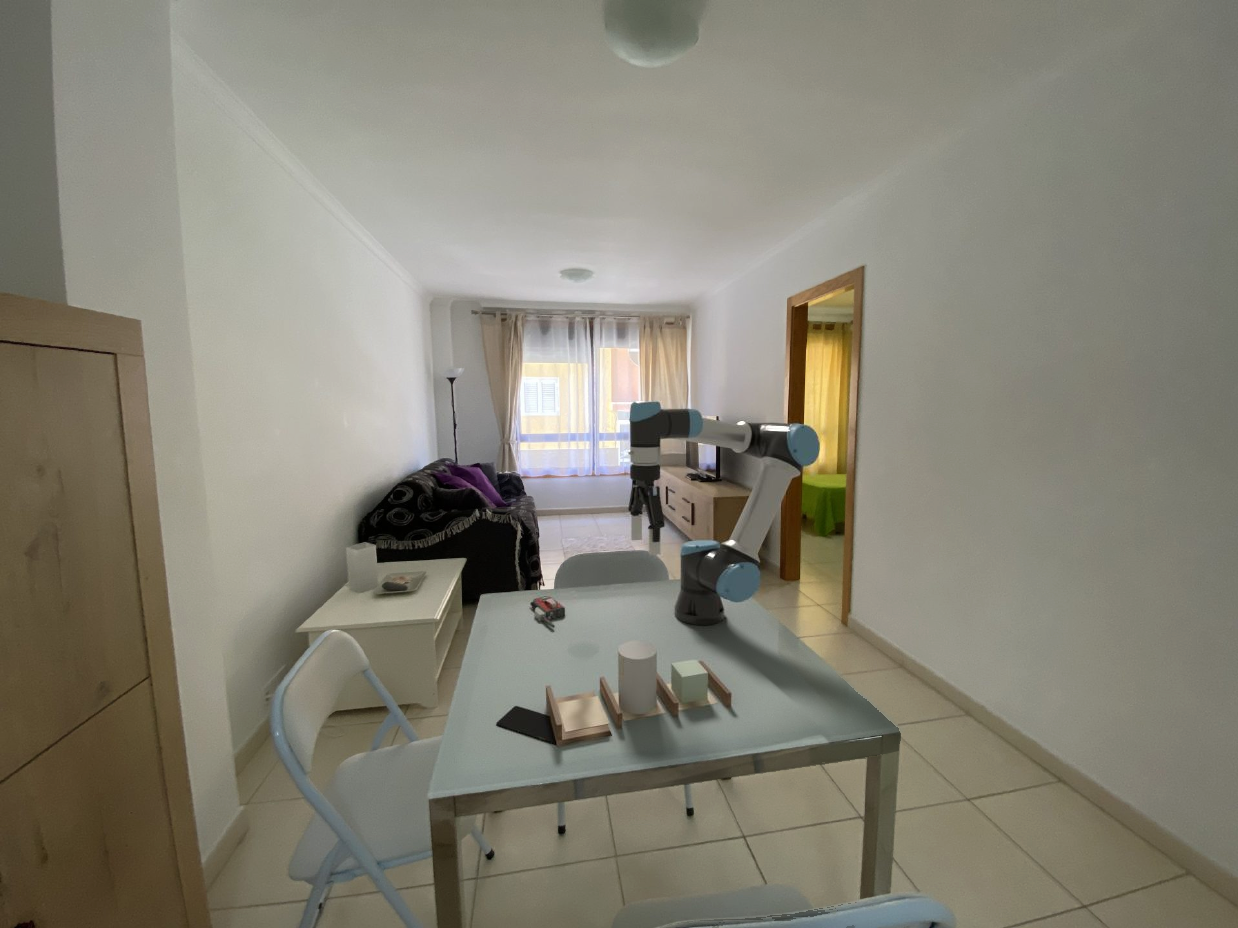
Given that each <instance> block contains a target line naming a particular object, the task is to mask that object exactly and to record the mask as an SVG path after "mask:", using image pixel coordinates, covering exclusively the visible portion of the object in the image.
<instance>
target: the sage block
mask: <svg viewBox="0 0 1238 928" xmlns="http://www.w3.org/2000/svg"><path fill="white" fill-rule="evenodd" d="M698 661H699V660H697V659H689V660H683V661H677V662H670V663H671V667H670V670H671V671H670V672H671V673H670V674H671V675H670V679H671V680H670V683H671V689H672V690H673V692H674V693H675V695H676V696H677V697H678V699H679V700H680V702H681V703H688V702H693V701H698V700H704V699H708V691H709V690H708V687H709V686H708V672H707V671H706V670H705V669H704V668H703V667H702V665H701V664H700V663H699V662H698Z"/></svg>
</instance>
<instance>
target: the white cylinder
mask: <svg viewBox="0 0 1238 928" xmlns="http://www.w3.org/2000/svg"><path fill="white" fill-rule="evenodd" d="M617 653H618V654H617V656H618V657H617V667H618V668H617V671H618V672H617V673H618V674H617V675H618V678H617V679H618V682H617V683H618V692H617V693H618V696H619V706H620V708H621V709H622V710H624V711H625V712H628V713H631V714H645V713H648V712H651V711H652V710H653V709H654V708H655V707H656V705H657V700H658V697H657V696H658V695H657V694H658V693H657V673H658V671H657V668H658V667H657V665H658V664H657V663H658V660H657V659H658V657H657V656H658V655H657V653H658V651H657V647H656V646H655V644H653V643H651V642H649V641H645V640H629V641H626V642H623V643H622V644H620V645H619V646H618V648H617Z"/></svg>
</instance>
